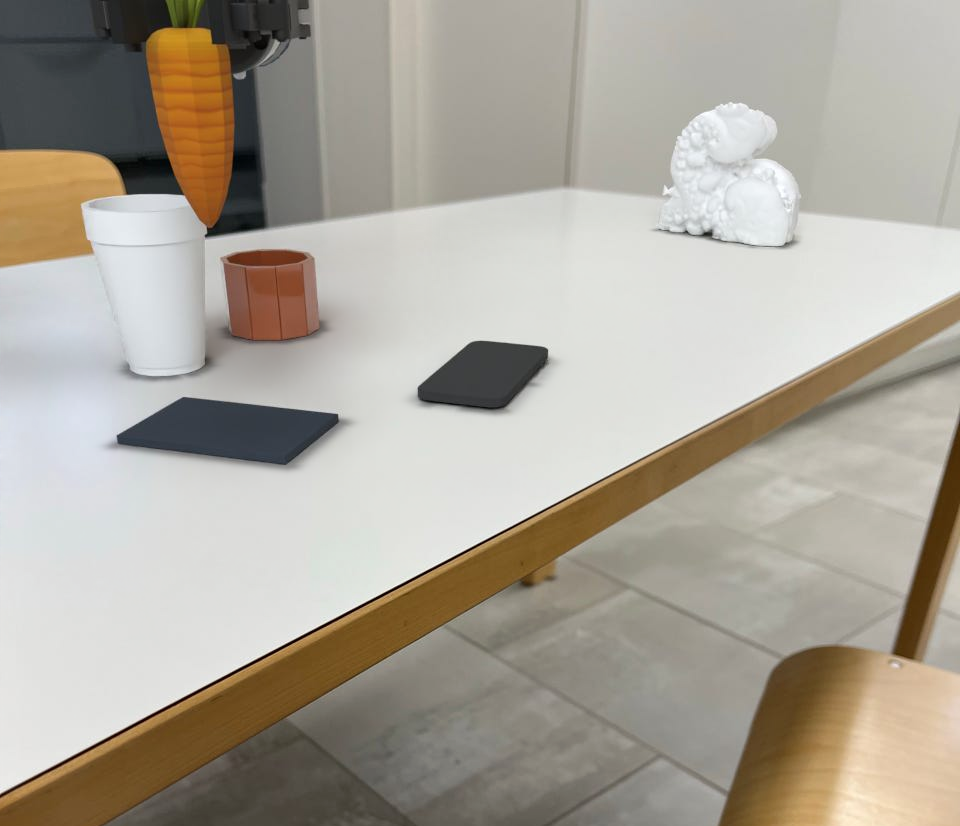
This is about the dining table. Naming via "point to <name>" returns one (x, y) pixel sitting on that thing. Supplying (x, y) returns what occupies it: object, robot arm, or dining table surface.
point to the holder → (270, 294)
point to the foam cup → (152, 278)
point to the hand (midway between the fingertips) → (165, 16)
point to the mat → (230, 429)
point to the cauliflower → (730, 180)
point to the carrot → (194, 107)
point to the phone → (484, 374)
